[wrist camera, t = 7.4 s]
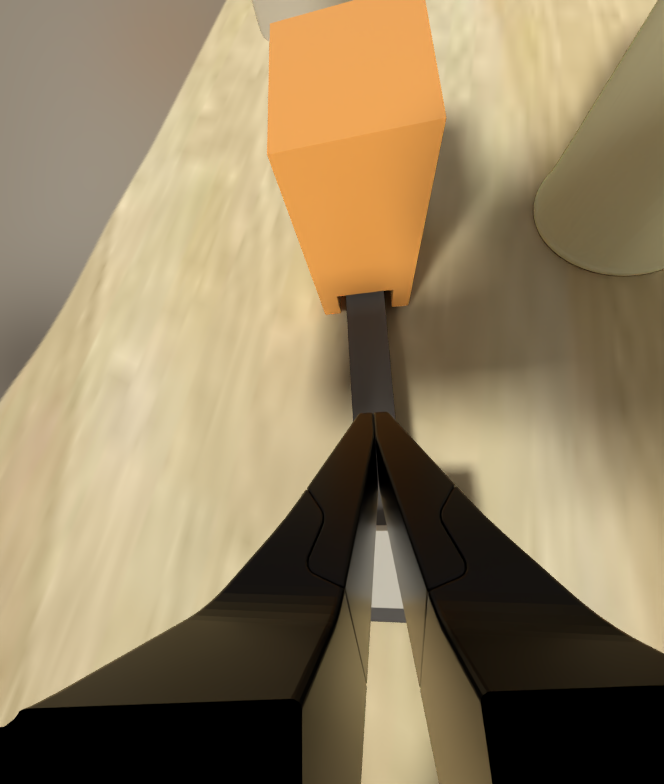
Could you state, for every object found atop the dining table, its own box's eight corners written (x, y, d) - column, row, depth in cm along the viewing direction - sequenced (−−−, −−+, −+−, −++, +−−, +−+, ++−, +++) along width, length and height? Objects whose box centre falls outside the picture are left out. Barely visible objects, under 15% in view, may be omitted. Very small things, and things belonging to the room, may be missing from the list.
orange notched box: (408, 305, 17) (446, 117, 8) (325, 314, 18) (267, 154, 8) (398, 224, 19) (421, -19, 9) (322, 236, 19) (270, 22, 10)
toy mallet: (458, 602, 14) (501, 679, 9) (321, 597, 15) (294, 665, 10) (406, 191, 20) (416, 107, 15) (311, 208, 21) (291, 133, 16)
